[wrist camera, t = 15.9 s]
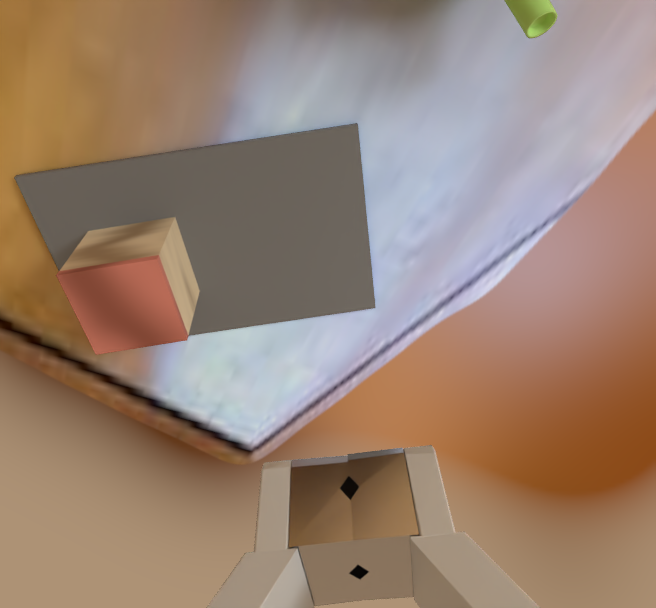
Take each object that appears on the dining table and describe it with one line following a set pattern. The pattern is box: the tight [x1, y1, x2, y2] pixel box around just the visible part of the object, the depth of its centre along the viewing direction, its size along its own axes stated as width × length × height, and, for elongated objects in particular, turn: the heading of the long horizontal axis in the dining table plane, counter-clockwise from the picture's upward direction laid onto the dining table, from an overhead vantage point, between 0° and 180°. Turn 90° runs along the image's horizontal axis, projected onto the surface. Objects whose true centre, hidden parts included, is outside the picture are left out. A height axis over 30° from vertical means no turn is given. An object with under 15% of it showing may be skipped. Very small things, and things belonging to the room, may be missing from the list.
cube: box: [56, 217, 200, 355], centre depth 35 cm, size 6×6×6 cm
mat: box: [14, 123, 375, 335], centre depth 37 cm, size 22×14×1 cm, turn 98°
